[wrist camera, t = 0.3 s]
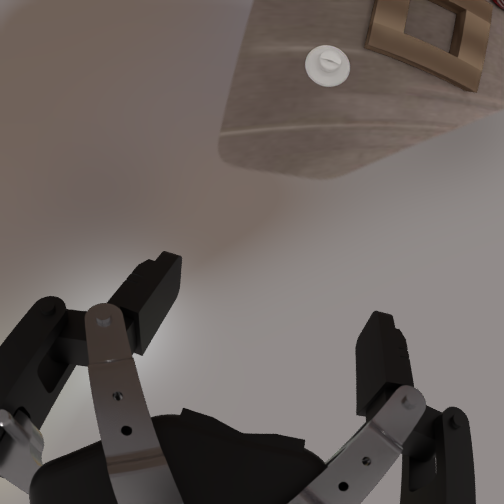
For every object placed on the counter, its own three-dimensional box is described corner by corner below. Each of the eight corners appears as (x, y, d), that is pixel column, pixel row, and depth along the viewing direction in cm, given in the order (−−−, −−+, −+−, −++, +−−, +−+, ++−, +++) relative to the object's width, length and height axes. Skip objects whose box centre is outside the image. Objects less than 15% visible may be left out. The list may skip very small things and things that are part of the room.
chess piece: (312, 39, 28) (310, 21, 20) (355, 55, 28) (369, 43, 20) (299, 77, 31) (292, 74, 22) (341, 93, 31) (350, 96, 22)
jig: (382, -37, 21) (386, -46, 18) (481, 9, 20) (492, 5, 18) (364, 47, 27) (368, 44, 25) (465, 91, 26) (476, 92, 24)
